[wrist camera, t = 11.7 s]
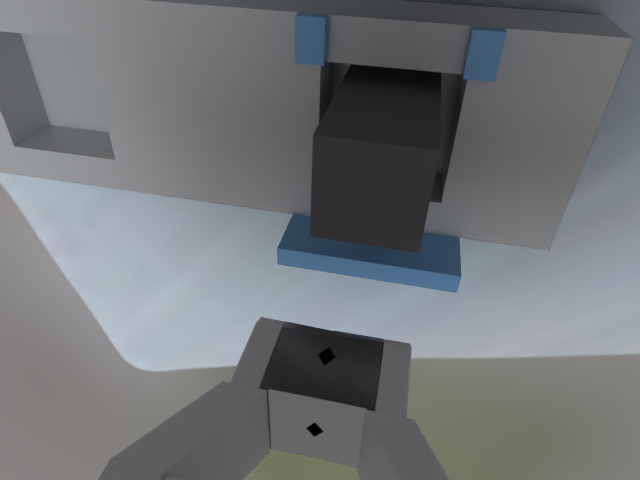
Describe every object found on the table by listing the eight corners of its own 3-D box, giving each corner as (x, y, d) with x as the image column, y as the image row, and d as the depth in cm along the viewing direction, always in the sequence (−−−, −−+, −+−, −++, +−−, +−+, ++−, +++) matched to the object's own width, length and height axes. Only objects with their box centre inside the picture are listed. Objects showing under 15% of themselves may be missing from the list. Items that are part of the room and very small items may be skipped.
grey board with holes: (-32, -31, 21) (-172, -9, 16) (602, 14, 17) (663, 61, 12) (34, 152, 26) (-58, 210, 21) (530, 219, 22) (554, 308, 18)
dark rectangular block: (351, 63, 19) (312, 134, 13) (441, 72, 18) (440, 150, 13) (345, 145, 21) (309, 236, 15) (425, 155, 20) (419, 253, 15)
